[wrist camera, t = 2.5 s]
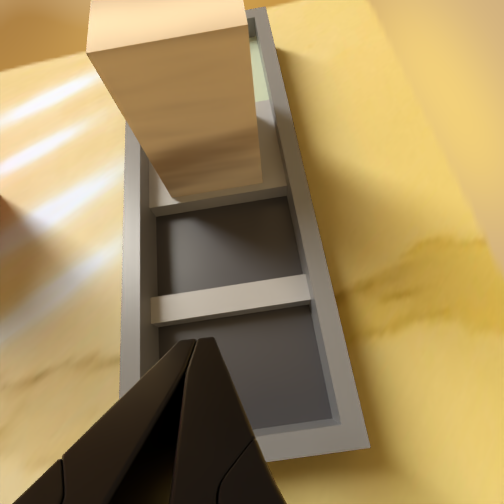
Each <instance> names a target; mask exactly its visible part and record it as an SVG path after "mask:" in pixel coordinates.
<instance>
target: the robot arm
mask: <svg viewBox="0 0 504 504" xmlns="http://www.w3.org/2000/svg"><path fill="white" fill-rule="evenodd" d="M13 504H287V503H286V502H285V500H284V498H283V496H282V494H281V492H280V490H279V489H278V487H277V485H276V483H275V481H274V478H273V476H272V474H271V472H270V469H269V467H268V465H267V463H266V461H265V458H264V456H263V454H262V451H261V449H260V446H259V444H258V441H257V440H256V437H255V435H254V432H253V430H252V427H251V425H250V422H249V420H248V417H247V415H246V413H245V410H244V408H243V405H242V403H241V400H240V398H239V395H238V393H237V391H236V388H235V386H234V383H233V381H232V378H231V376H230V373H229V371H228V368H227V366H226V364H225V361H224V359H223V356H222V354H221V351H220V349H219V346H218V344H217V342H216V339H215V338H214V337H205V338H199V339H198V340H196V339H186V340H180V341H178V342H177V343H176V344H175V345H174V346H173V347H172V348H171V349H170V350H169V351H168V352H167V353H166V354H165V355H164V356H163V357H162V358H161V359H160V360H159V361H158V362H157V363H156V364H155V365H154V366H153V367H152V368H151V369H150V370H149V371H148V372H147V373H146V374H145V375H144V376H143V377H142V378H141V379H140V380H139V381H138V382H137V383H136V384H135V385H134V386H133V387H132V388H131V389H130V390H129V391H127V392H126V393H125V394H124V395H123V396H122V397H121V398H120V399H119V400H118V401H117V402H116V403H115V404H114V405H113V406H112V407H111V408H110V409H109V410H108V411H107V412H106V413H105V414H104V415H103V416H102V417H101V418H100V419H99V420H98V421H97V422H96V423H95V424H94V425H93V426H92V427H91V428H90V429H89V430H88V431H87V432H86V433H85V434H84V435H83V436H82V437H81V438H80V439H79V440H78V441H77V442H76V443H75V444H74V445H73V446H72V447H71V448H70V449H69V450H68V451H67V452H65V453H64V454H63V456H62V459H58V460H57V461H56V462H55V463H54V464H53V465H52V466H51V467H50V468H49V469H48V470H47V471H46V472H45V473H44V474H43V475H42V476H41V477H40V478H39V479H38V480H37V481H36V482H35V483H34V484H33V485H31V486H30V487H29V488H28V489H27V490H26V491H25V492H24V493H23V494H22V495H21V496H20V497H19V498H18V499H17V500H16V501H15V502H14V503H13Z"/></svg>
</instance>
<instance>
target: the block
mask: <svg viewBox="0 0 504 504" xmlns="http://www.w3.org/2000/svg"><path fill="white" fill-rule="evenodd" d="M86 54H87V56H88V57H89V59H90V61H91V62H92V64H93V66H94V67H95V69H96V71H97V73H98V74H99V76H100V78H101V79H102V81H103V83H104V84H105V86H106V88H107V89H108V91H109V93H110V94H111V96H112V98H113V99H114V101H115V103H116V105H117V106H118V108H119V110H120V111H121V113H122V115H123V116H124V118H125V120H126V121H127V123H128V125H129V126H130V128H131V130H132V131H133V133H134V135H135V137H136V138H137V140H138V142H139V143H140V145H141V147H142V148H143V150H144V152H145V153H146V155H147V157H148V158H149V160H150V162H151V163H152V165H153V167H154V169H155V170H156V172H157V174H158V175H159V177H160V179H161V180H162V182H163V184H164V185H165V187H166V189H167V190H168V192H169V194H170V195H171V197H172V198H174V197H180V196H186V195H192V194H198V193H204V192H210V191H216V190H223V189H229V188H235V187H241V186H247V185H253V184H259V183H263V180H262V169H261V159H260V148H259V138H258V127H257V117H256V106H255V96H254V85H253V75H252V64H251V54H250V43H249V33H248V23H247V18H246V13H245V8H244V4H243V0H91V6H90V16H89V27H88V38H87V48H86Z"/></svg>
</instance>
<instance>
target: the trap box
mask: <svg viewBox="0 0 504 504" xmlns="http://www.w3.org/2000/svg"><path fill="white" fill-rule="evenodd" d="M245 13H246V18H247V23H248V33H249V43H250V54H251V64H252V75H253V85H254V96H255V106H256V117H257V127H258V138H259V148H260V159H261V169H262V180H263V183H259V184H253V185H247V186H241V187H235V188H229V189H223V190H216V191H210V192H204V193H198V194H192V195H186V196H180V197H174V198H172V197H171V195H170V194H169V192H168V190H167V189H166V187H165V185H164V184H163V182H162V180H161V179H160V177H159V175H158V174H157V172H156V170H155V169H154V167H153V165H152V163H151V162H150V160H149V158H148V157H147V155H146V153H145V152H144V150H143V148H142V147H141V145H140V143H139V142H138V140H137V138H136V137H135V135H134V133H133V131H132V130H131V128H130V126H129V125H128V123H127V121H126V128H125V171H124V215H123V259H122V303H121V346H120V390H119V399H120V398H121V397H122V396H123V395H124V394H125V393H126V392H127V391H129V390H130V389H131V388H132V387H133V386H134V385H135V384H136V383H137V382H138V381H139V380H140V379H141V378H142V377H143V376H144V375H145V374H146V373H147V372H148V371H149V370H150V369H151V368H152V367H153V366H154V365H155V364H156V363H157V362H158V361H159V360H160V359H161V358H162V357H163V356H164V355H165V354H166V353H167V352H168V351H169V350H170V349H171V348H172V347H173V346H174V345H175V344H176V343H177V342H178V341H180V340H186V339H196V340H198V339H199V338H205V337H214V338H215V339H216V342H217V344H218V346H219V349H220V351H221V354H222V356H223V359H224V361H225V364H226V366H227V368H228V371H229V373H230V376H231V378H232V381H233V383H234V386H235V388H236V391H237V393H238V395H239V398H240V400H241V403H242V405H243V408H244V410H245V413H246V415H247V417H248V420H249V422H250V425H251V427H252V430H253V432H254V435H255V437H256V440H257V441H258V444H259V446H260V449H261V451H262V454H263V456H264V458H265V461H266V462H271V461H279V460H286V459H293V458H300V457H308V456H315V455H322V454H329V453H337V452H344V451H351V450H358V449H365V448H371V447H370V443H369V439H368V434H367V430H366V426H365V422H364V418H363V413H362V409H361V405H360V401H359V397H358V392H357V388H356V384H355V380H354V376H353V371H352V367H351V363H350V359H349V355H348V351H347V346H346V342H345V338H344V334H343V330H342V325H341V321H340V317H339V313H338V309H337V304H336V300H335V296H334V292H333V288H332V283H331V279H330V275H329V271H328V267H327V262H326V258H325V254H324V250H323V246H322V242H321V237H320V233H319V229H318V225H317V221H316V216H315V212H314V208H313V204H312V200H311V195H310V191H309V187H308V183H307V179H306V174H305V170H304V166H303V162H302V158H301V153H300V149H299V145H298V141H297V137H296V133H295V128H294V124H293V120H292V116H291V112H290V107H289V103H288V99H287V95H286V91H285V86H284V82H283V78H282V74H281V70H280V65H279V61H278V57H277V53H276V49H275V44H274V40H273V36H272V32H271V28H270V23H269V19H268V15H267V11H266V7H261V8H255V9H250V10H245Z"/></svg>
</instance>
